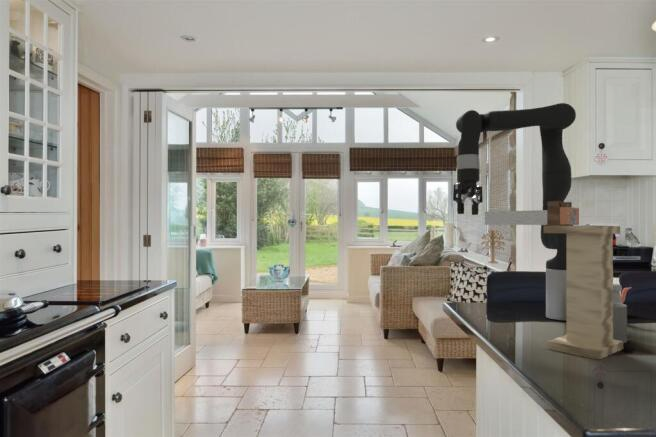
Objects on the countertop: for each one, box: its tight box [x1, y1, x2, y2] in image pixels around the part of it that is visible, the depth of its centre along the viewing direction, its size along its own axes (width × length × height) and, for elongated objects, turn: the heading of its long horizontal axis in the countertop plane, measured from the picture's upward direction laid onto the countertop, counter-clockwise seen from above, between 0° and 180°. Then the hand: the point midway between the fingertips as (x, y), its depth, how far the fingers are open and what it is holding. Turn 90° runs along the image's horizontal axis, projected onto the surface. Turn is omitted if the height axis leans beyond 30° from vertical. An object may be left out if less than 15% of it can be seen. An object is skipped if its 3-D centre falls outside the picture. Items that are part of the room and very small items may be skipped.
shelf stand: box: [544, 201, 624, 361], centre depth 114 cm, size 16×14×39 cm
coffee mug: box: [613, 302, 628, 344], centre depth 126 cm, size 13×10×10 cm
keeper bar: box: [484, 206, 580, 226], centre depth 126 cm, size 7×25×5 cm, turn 38°
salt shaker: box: [613, 283, 623, 304], centre depth 147 cm, size 6×6×13 cm
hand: (468, 214), depth 153 cm, fingers open, 8 cm apart
